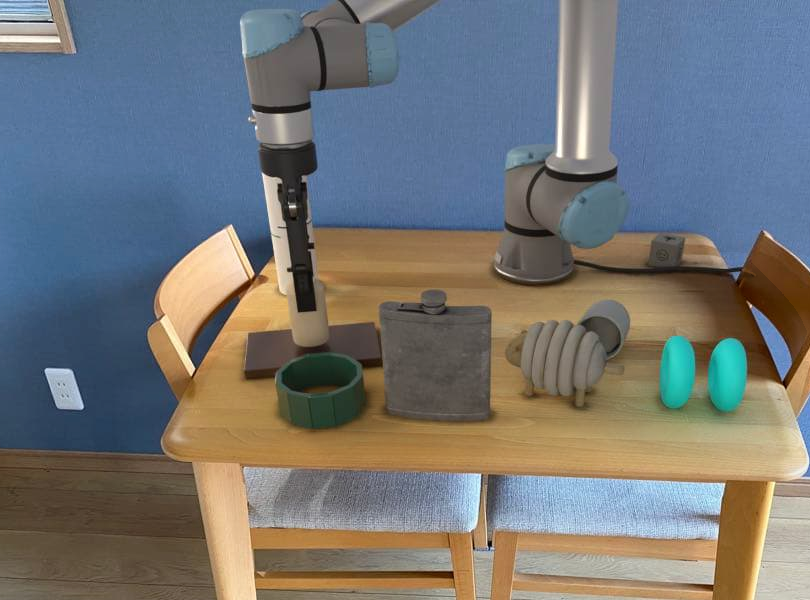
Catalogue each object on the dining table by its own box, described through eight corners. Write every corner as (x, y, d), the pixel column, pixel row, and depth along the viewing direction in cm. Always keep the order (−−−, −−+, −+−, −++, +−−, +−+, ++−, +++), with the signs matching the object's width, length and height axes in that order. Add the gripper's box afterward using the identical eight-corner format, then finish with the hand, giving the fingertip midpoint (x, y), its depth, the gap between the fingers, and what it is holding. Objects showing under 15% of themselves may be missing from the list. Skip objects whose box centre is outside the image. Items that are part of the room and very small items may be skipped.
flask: (488, 424, 101) (490, 302, 91) (383, 417, 102) (373, 296, 92) (490, 409, 104) (492, 289, 94) (388, 403, 105) (380, 284, 96)
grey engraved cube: (681, 261, 148) (685, 237, 145) (673, 270, 145) (677, 245, 142) (657, 256, 150) (660, 232, 148) (648, 265, 147) (651, 240, 144)
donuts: (655, 383, 110) (665, 322, 105) (726, 387, 109) (739, 325, 104) (663, 422, 102) (673, 357, 96) (739, 426, 101) (754, 361, 95)
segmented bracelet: (362, 378, 111) (359, 349, 108) (368, 423, 101) (365, 391, 99) (281, 386, 109) (276, 356, 106) (280, 432, 99) (274, 400, 97)
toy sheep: (513, 366, 114) (516, 299, 108) (625, 385, 110) (635, 316, 103) (493, 403, 105) (494, 332, 99) (614, 424, 101) (623, 352, 95)
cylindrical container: (310, 297, 134) (292, 154, 120) (273, 294, 135) (250, 151, 121) (325, 281, 140) (309, 143, 126) (289, 278, 141) (269, 140, 127)
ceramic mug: (629, 341, 121) (634, 296, 117) (620, 365, 114) (625, 319, 110) (565, 331, 124) (567, 288, 120) (552, 354, 117) (554, 309, 113)
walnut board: (374, 329, 124) (374, 321, 123) (381, 366, 114) (381, 357, 113) (249, 340, 120) (247, 332, 120) (245, 379, 111) (243, 370, 110)
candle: (299, 350, 113) (290, 288, 107) (289, 335, 117) (280, 274, 111) (334, 342, 115) (327, 281, 109) (323, 327, 119) (316, 268, 113)
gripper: (259, 126, 107) (282, 278, 119) (253, 162, 91) (280, 332, 104) (313, 124, 108) (330, 275, 121) (316, 159, 93) (335, 327, 105)
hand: (306, 301), depth 112 cm, fingers closed on candle, 5 cm apart
